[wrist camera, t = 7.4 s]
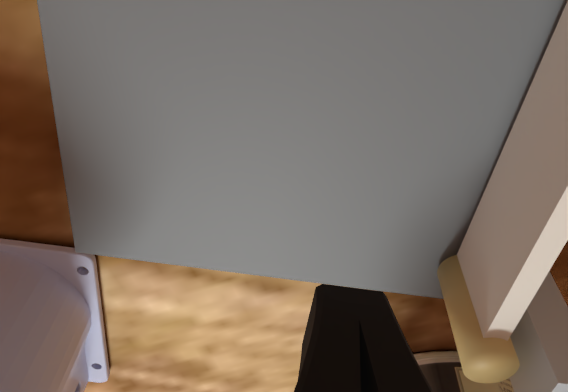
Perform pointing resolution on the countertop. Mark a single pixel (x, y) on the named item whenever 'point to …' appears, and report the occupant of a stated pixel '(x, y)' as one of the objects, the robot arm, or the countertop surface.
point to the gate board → (298, 138)
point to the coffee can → (453, 374)
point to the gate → (513, 226)
